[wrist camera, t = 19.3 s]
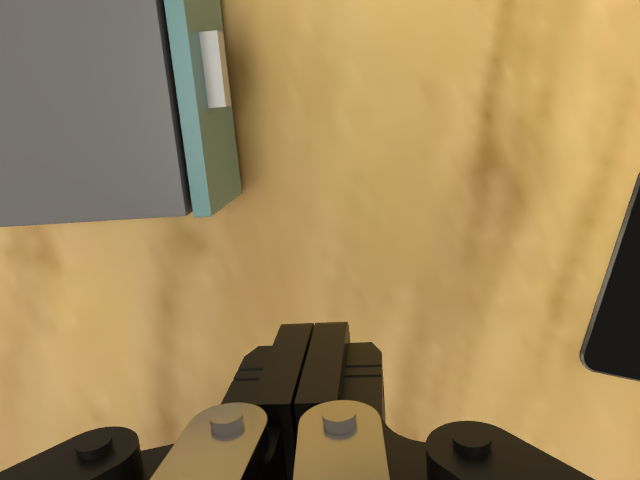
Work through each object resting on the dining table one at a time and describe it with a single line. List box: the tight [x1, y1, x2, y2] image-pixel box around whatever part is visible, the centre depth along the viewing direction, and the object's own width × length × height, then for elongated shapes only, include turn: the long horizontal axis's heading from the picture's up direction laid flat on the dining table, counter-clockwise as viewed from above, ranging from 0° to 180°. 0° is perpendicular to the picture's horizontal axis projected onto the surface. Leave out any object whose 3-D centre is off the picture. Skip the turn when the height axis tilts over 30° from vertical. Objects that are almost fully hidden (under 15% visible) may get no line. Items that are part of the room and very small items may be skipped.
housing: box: [0, 0, 193, 227], centre depth 35 cm, size 15×14×9 cm
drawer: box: [162, 0, 242, 217], centre depth 34 cm, size 15×14×7 cm
